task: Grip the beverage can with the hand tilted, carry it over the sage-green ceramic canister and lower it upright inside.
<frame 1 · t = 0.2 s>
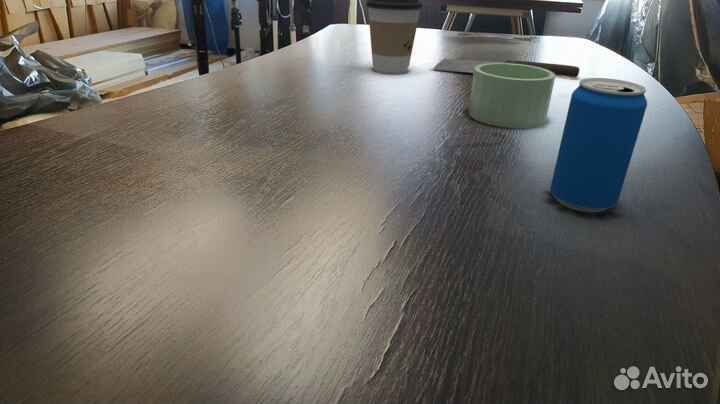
coffee cup: (390, 71, 104), on the table
beverage can: (581, 202, 51), on the table
cleaver: (504, 73, 106), on the table
canister: (506, 116, 77), on the table
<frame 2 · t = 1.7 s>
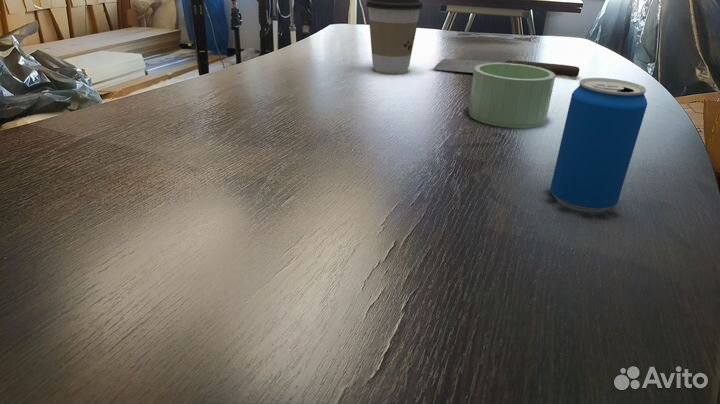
nothing on the table moved.
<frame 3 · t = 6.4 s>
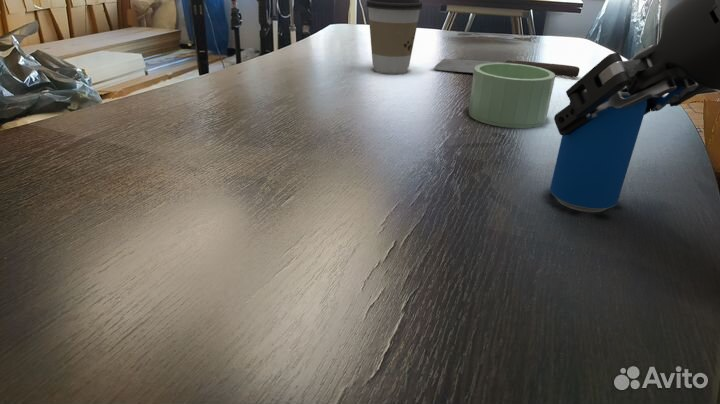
hand: (587, 122, 49), 8 cm above the table, tool tilted 45°, fingers closed on beverage can, 6 cm apart
beverage can: (580, 202, 51), on the table, touching gripper
everything else where it was.
when the fingers open (8 cm above the table, at t = 17.2 s): beverage can stays where it is, resting on canister.
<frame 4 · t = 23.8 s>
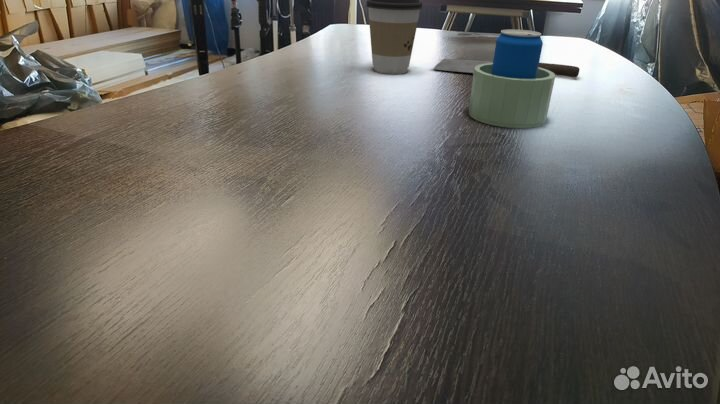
beverage can: (506, 114, 77), resting on canister
everything else where it was.
at the end: beverage can 0.1 cm off-centre in the canister, point 0.3 cm above the canister's base; beverage can tilted 0°; the gripper is holding nothing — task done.
